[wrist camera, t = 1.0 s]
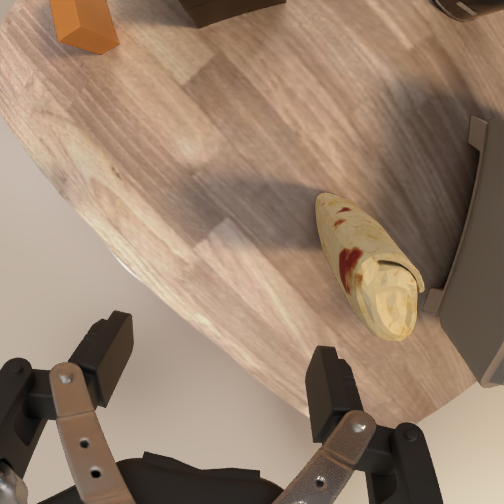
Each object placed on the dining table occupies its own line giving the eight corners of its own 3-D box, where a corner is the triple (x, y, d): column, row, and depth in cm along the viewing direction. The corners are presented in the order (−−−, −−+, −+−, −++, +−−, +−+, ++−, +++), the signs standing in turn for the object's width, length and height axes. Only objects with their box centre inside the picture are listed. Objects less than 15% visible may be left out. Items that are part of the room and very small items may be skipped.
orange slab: (103, -8, 26) (67, -32, 17) (119, 44, 30) (80, 26, 20) (85, 3, 26) (46, -17, 17) (100, 55, 30) (58, 42, 21)
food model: (296, 202, 38) (328, 282, 19) (342, 175, 36) (416, 230, 18) (331, 263, 41) (376, 368, 22) (374, 239, 39) (445, 329, 21)
